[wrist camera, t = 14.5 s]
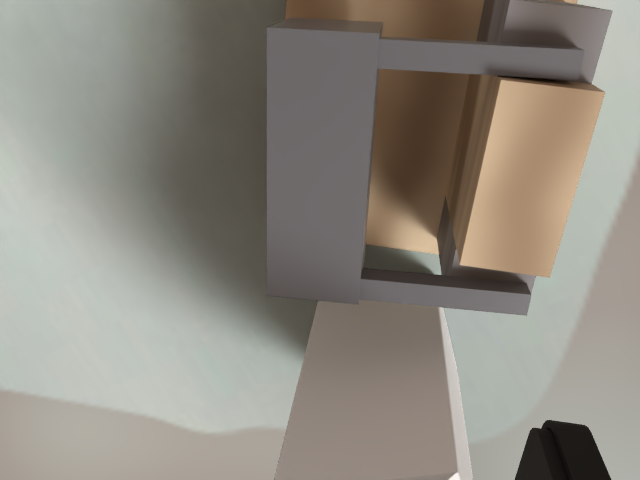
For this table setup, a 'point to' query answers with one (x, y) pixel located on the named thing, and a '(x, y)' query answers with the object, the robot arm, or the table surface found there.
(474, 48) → the grey bracket
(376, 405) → the milk carton
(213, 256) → the table surface
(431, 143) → the stacked wooden blocks
